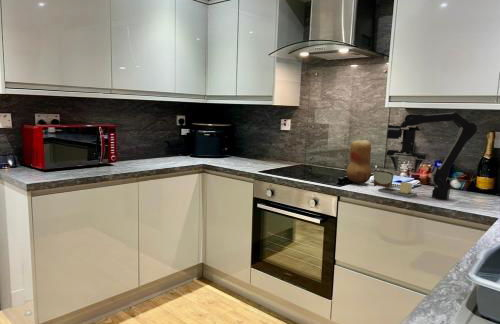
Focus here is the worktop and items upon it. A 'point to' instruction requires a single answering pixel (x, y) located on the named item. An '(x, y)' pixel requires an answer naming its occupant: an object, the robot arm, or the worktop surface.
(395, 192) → the grey slotted board
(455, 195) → the worktop surface
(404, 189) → the light wood beam
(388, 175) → the food container
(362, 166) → the butternut squash
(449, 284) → the worktop surface
